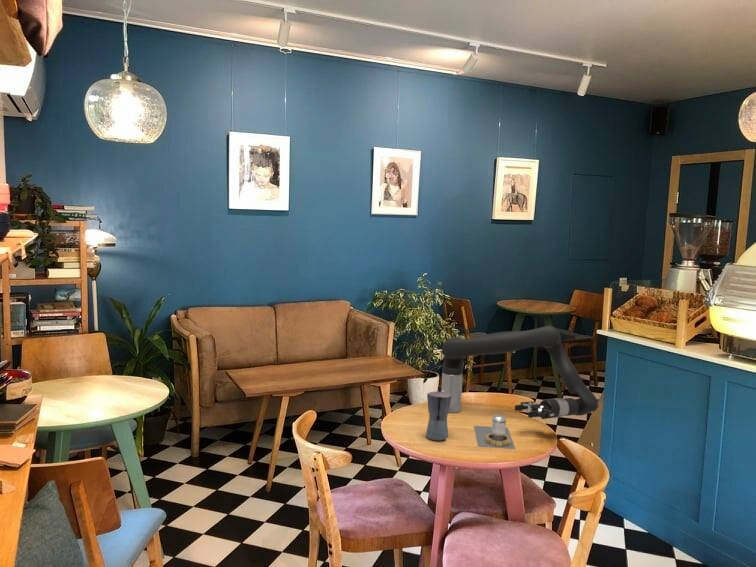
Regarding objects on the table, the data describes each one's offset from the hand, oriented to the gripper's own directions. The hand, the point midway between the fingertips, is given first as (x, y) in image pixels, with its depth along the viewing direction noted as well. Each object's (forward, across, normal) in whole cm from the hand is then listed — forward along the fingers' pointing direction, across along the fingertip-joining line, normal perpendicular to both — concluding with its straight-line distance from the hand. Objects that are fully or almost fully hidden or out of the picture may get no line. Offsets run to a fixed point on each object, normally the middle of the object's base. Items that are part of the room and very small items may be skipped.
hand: (521, 411), depth 232 cm
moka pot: (+30, -13, +12) cm, 35 cm away
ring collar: (+12, +1, +11) cm, 16 cm away
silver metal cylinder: (+11, +1, +11) cm, 16 cm away
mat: (+9, -4, +12) cm, 16 cm away
